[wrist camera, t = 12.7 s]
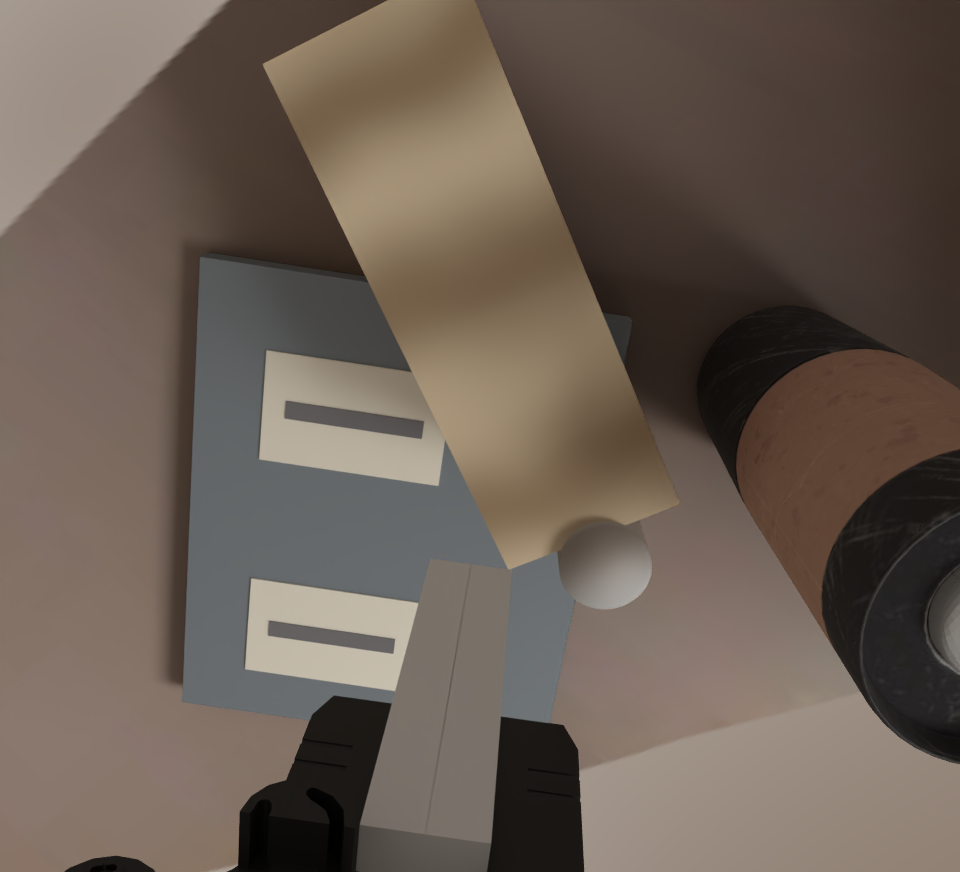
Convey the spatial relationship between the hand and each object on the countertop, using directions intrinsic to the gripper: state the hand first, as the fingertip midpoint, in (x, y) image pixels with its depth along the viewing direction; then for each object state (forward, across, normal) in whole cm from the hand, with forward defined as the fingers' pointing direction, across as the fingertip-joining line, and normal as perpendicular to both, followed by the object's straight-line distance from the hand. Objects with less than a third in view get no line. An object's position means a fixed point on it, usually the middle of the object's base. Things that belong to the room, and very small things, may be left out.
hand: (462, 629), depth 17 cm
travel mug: (+24, +12, -1) cm, 27 cm away
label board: (+24, -4, -9) cm, 26 cm away
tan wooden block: (+21, 0, +3) cm, 21 cm away
